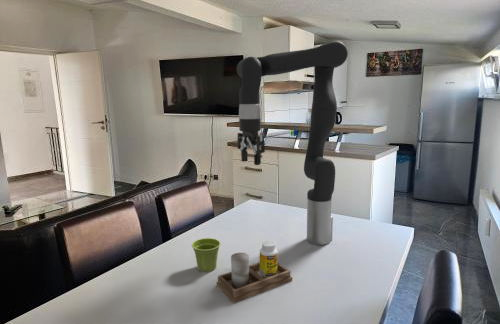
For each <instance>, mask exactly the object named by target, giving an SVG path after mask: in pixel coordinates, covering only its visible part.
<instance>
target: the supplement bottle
mask: <svg viewBox="0 0 500 324" xmlns="http://www.w3.org/2000/svg"><path fill="white" fill-rule="evenodd" d="M278 253H279V252H278V249H277V248H276V243H275V242H274V241H269V240H268V241H267V240H266V241H264V242H262V245H261V248H260V249H259V262H260V275H261V276H263V277H265V278H268V277H271V276H274V275H276V274H277V262H278Z"/></svg>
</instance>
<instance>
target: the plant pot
mask: <svg viewBox="0 0 500 324" xmlns="http://www.w3.org/2000/svg"><path fill="white" fill-rule="evenodd" d="M220 246H221V241H220V240H218V239H217V238H210V237H206V238H205V237H204V238H199V239H197V240H194V241H193V242H192V244H191V247H192V248H193V251H194V254H195V259H196V266H197V269H198V271H200V272H202V273H203V272H209V273H210V272H213V271H214V270H215V269H217V262H218V255H219V254H218V253H219V250H220Z"/></svg>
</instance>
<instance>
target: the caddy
mask: <svg viewBox="0 0 500 324" xmlns="http://www.w3.org/2000/svg"><path fill="white" fill-rule="evenodd" d="M249 258H250V257H249V254H248V253H246V252H235V253H232V254H231V256H230V266H231V267H230V268H231V271H229V272H226V273H223V274H220V275H217V281H215V282H216V283H215V285H216V287H217V288H219V290H220V291H221V292H222V293H223V294H224V295H225V296H226V297H227V298H228V299H229V300H230V301H231V302H232V303H233V304H235V303H238V302H241V301H244V300H246V299H248V298H251V297H253V296H256V295H259V294H262V293H265V292H267V291H269V290H272V289H275V288H277V287H280V286H282V285H285V284H288V283H291V282H293V277H292V276H291V270H289V269H288V268H286V267H285V266H284V265H282V264H280V263H279V262H278V261H277V274H276V275H274V276H271V277H268V278H265V277H263V276H261V275H260V261H259V262H256V263H253V264H250V263H249V262H250V259H249Z"/></svg>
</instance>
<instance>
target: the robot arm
mask: <svg viewBox="0 0 500 324" xmlns="http://www.w3.org/2000/svg"><path fill="white" fill-rule="evenodd" d="M348 54H349V53H348V48H347V46H346V45H345V44H344V42H342V41H339V40H331V41H328V42H325V43H322V44H320V46H316V47H312V48H307V49H300V50H292V51H283V52H278V53H271V54H267V55H264V56H258V57H254V56H248V57H245V58H244V59H241V60H240V61H239V62H238V63H237V65H236V73H237V75H238V76H239V78H240V79H241V87H240V88H239V97H238V98H239V99H238V100H239V107H238V123H239V124H238V125H239V126H238V127H239V128H238V129H239V131H240V132H237V150H239V151H240V153H241V159H240V160H241V162H243V163H244V162H247V161H248V159H249V158H248V149H249V148H250V149H251V150H252V151H253V164H254V166H260V165H261V163H262V161H261V159H262V157H261V156H262V155H261V154H264V153H265V152H266V150H265V147H266V145H265V135H264V134H261V135H260V134H259V132H260V131H261V129H262V120H261V117H262V115H261V113H262V111H261V105H260V104H261V101H260V97H261V96H260V89H261V83H262V77H266V76H276V75H282V74H287V73H292V72H297V71H300V70H305V69H308V68H309V69H310V68H314V70H313V71H314V81H313V82H314V83H313V94H312V103H311V111H310V112H311V113H310V123H309V125H310V126H309V133H308V143H307V148H306V152H305V153H306V154H305V157H304V158H305V159H304V163H303V172H304V175H305V177H306V178H308V179H310V180H311V181H312V180H313V182H314V183H313V184H314V185H313V188H311V189H308V191H307V195H306V196H307V197H306V198H307V199H306V200H307V201H306V241H307V242H308V243H310V244H312V245H318V246H319V245H320V246H324V245H328V244H330V242H331V241H333V229H334V227H333V224H334V217H333V216H332V198H333V194H334V191H335V182H336V166H335V163H334V162H333V160H330V158H329V159H328V158H325V157H324V149H325V143H326V141H327V139H328V138H329V136H330V134H331V133H332V131H333V129H334V127H335V125H336V119H337V108H338V103H337V98H336V95H335V91H334V90H335V89H334V87H333V79H334V78H333V77H334V72H335V69H336V68H338V67H340V66H342V65H343V64H345V62H346V61H347V58H348V56H349V55H348Z"/></svg>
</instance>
